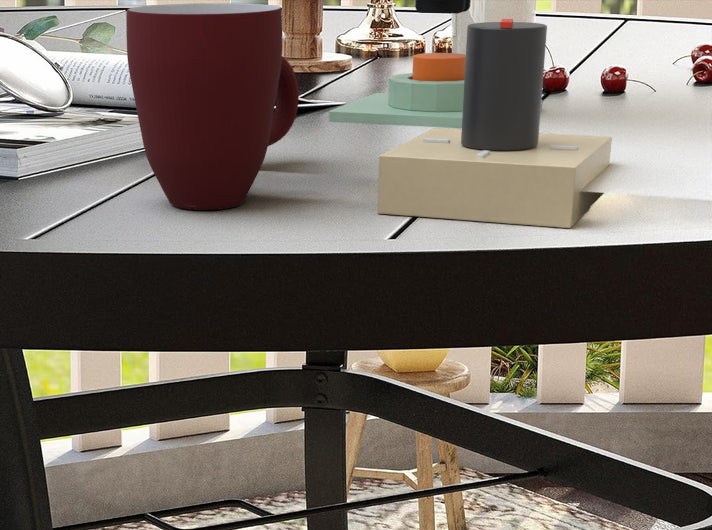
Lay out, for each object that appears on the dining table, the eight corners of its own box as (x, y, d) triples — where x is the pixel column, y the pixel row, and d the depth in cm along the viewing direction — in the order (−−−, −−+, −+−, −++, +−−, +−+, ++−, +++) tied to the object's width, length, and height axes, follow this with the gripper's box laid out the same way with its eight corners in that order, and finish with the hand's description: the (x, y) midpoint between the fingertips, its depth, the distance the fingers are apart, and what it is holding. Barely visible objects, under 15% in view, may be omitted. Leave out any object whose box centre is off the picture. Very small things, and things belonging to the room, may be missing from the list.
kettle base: (540, 132, 97) (545, 72, 96) (506, 155, 89) (510, 89, 87) (375, 124, 102) (377, 66, 100) (328, 144, 93) (329, 82, 92)
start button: (472, 80, 95) (474, 53, 94) (458, 86, 92) (459, 59, 91) (420, 78, 96) (422, 52, 95) (405, 85, 93) (406, 57, 92)
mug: (226, 177, 83) (225, -2, 79) (337, 193, 78) (342, 3, 74) (101, 206, 76) (92, 10, 72) (215, 225, 71) (213, 16, 67)
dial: (463, 137, 76) (470, 15, 74) (538, 139, 75) (548, 15, 73) (458, 149, 73) (465, 21, 70) (537, 151, 72) (547, 22, 69)
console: (606, 192, 77) (612, 133, 76) (570, 228, 69) (576, 163, 68) (431, 180, 81) (433, 124, 80) (376, 213, 73) (379, 151, 72)
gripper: (488, -330, 77) (468, 22, 84) (547, -299, 90) (525, 5, 97) (358, -320, 80) (350, 20, 87) (433, -291, 92) (420, 3, 100)
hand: (442, 11), depth 92 cm, fingers closed
